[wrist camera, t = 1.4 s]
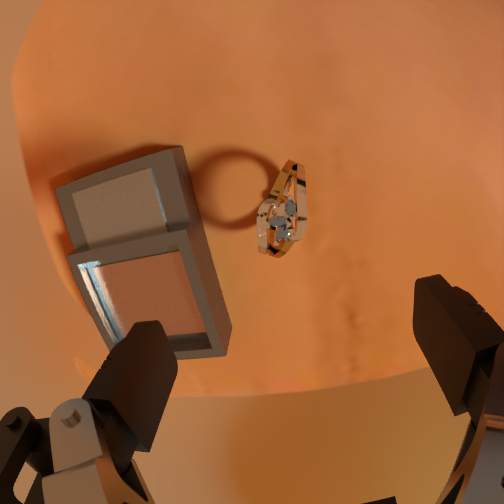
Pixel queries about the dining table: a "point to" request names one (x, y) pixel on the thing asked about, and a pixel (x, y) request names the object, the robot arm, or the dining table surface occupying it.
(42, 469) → the robot arm
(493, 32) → the dining table surface
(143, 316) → the grey tray
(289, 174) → the ring
